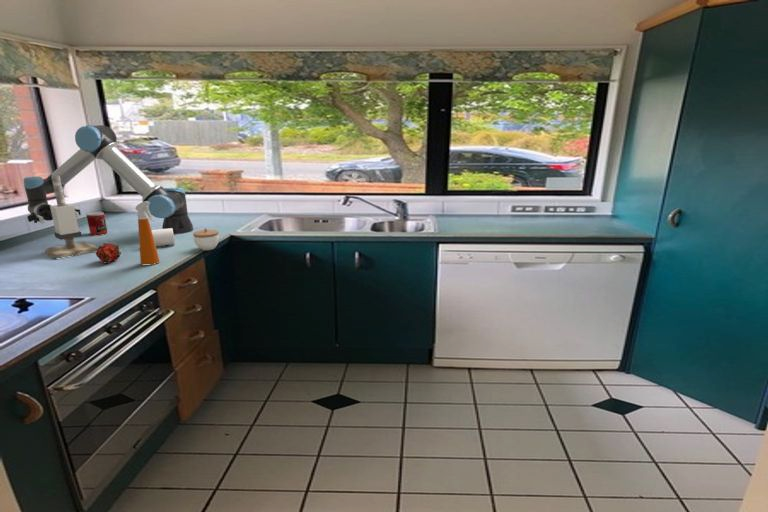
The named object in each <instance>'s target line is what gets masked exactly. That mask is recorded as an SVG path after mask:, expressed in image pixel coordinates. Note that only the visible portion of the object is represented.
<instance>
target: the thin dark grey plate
mask: <svg viewBox="0 0 768 512" xmlns="http://www.w3.org/2000/svg"><path fill="white" fill-rule="evenodd" d="M53 233H54V237H55V238H56V239H59V240H63V241H64V239H69V238H74V239H75V238H80V237H83V236H82V235H83V234H82V231H80V230H79V232H76V233H70V234H64V235H60V234H58V233H56V231H55V232H53Z"/></svg>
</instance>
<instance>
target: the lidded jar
mask: <svg viewBox="0 0 768 512" xmlns="http://www.w3.org/2000/svg"><path fill="white" fill-rule="evenodd" d="M193 238H194V243H195V245H196V246H197V247H198V248H199V249H200V250H201V249H202V250H201V251H211V250H214V249H216V247H217V245H218V243H219V238H220V237H219V230H217V229H207V228H204V229H201V230H198V231H197V230H196V231H194V233H193Z"/></svg>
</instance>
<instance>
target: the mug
mask: <svg viewBox="0 0 768 512" xmlns="http://www.w3.org/2000/svg"><path fill="white" fill-rule="evenodd" d="M151 231H152V235H153V238H154V242H155V246H159V247H166V246H165V245H169V246H174V245H175V244H176V243H175V236H174V234H173V229H172V228H169V229H162V228H158V229H151Z"/></svg>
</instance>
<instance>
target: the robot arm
mask: <svg viewBox="0 0 768 512" xmlns="http://www.w3.org/2000/svg"><path fill="white" fill-rule="evenodd" d="M117 140H118V138H117V134H116V133H115V131H114V130H113V129H112V128H111V127H108V126H107V125H91V124H88V125H85V126H80V127H79V128H77V130H76V132H75V135H74V141H75V144H76V145H77V147H78V148H79V150H77V151H76V152H75V153H74V154H73V155H71V156H70V157H69V158H68V159H67V160H66V161H64V162H63V163H62V164H61V165H60V166H59V167H57V169H55V170H54V171H52V173H51V174H50V175H48V177H45V178H43V177H41V176H26V177H24V178H23V187H24V191H25V195H26V198H27V202H28V203H27V204H28V205H27V212H29V215H27V220H28V222H29V223H31V222H33V223H34V224H37V223H40V224H45V221H48V222H49V221H53V217H52V213H51V209H50V206H53V205H51V204H49V201H48V197H47V195H49V194H50V195H51V194H55V191H54V187H53V182H52V178H51V176H60V179H61V184H62V189H63V190H64V189H65V187H66V185H67V184H68V183H69V182H70V181H71V180H72V179H74V178H75V177H76V176H77V175H78V174H79V173H81V172H82V171H84V169H85V168H87V167H88V166H89V165H90V164H91V163H92V162H94V161H95V160H102V161H103V162H105V163H106V165H108V166H109V167H110V168H111V169H112V170H113V171H114V172H115V173H116V174H117V175H118V176H119V177H121V179H122V180H124V181H125V183H127V184H128V185H129V186H130V187H131V188H132V189H133V190H134V191H136V192H137V193H138V194H139V195H140V197H142V200H141V201H142V202H144V201H148V202H149V203H150V204H149V211H150V213H151V215H152V217H153V218H156V219H157V218H158V219H163V220H162V227H161V229H169V228H172V229H173V235H174V234H184V233H189V232H191V231H193V230H194V224H192V221H191V219H190V216H189V214H188V207H187V206H188V205H187V197H186V195H187V194H186V191H185V189H184V187H183V188H182V187H163V186H162V185H157V184H156V183H154V181H152V180H151V179H150V178H149V177H148V176H147V174H145V173H144V172H143V171H142V170H141V169H140V168H138V166H136V164H135V163H133V162H132V161H131V160H130V158H128V157H127V156H126V155H125V154H124V152H122V151H121V150H120V149H119V148H118V143H117ZM74 209H75V214H76V218H77V219H80V215H81V210H80V209H78V208H74Z"/></svg>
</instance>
